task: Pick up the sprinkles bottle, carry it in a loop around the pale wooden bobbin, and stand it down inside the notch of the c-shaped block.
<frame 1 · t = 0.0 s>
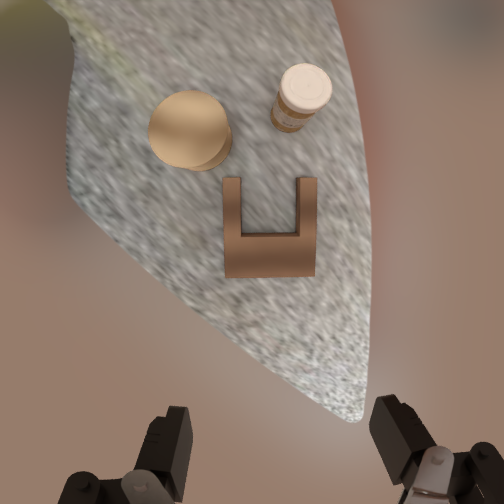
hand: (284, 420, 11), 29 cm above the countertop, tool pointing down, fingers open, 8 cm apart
c-shaped block: (268, 224, 39), on the countertop
sprinkles bottle: (287, 116, 36), on the countertop
bobbin: (200, 140, 36), on the countertop
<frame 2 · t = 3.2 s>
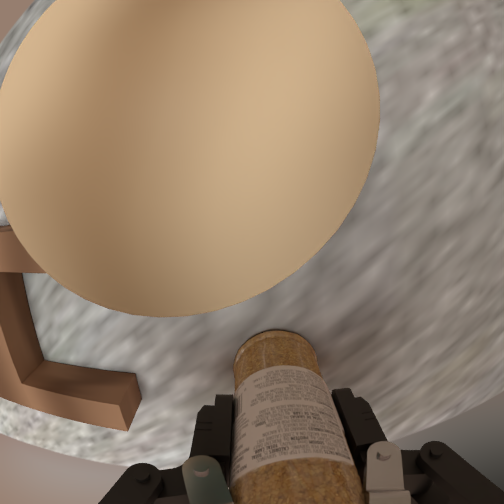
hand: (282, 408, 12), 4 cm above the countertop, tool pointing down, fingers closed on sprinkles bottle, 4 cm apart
c-shaped block: (41, 313, 15), on the countertop
sprinkles bottle: (274, 360, 16), on the countertop, touching gripper
bobbin: (209, 147, 13), on the countertop
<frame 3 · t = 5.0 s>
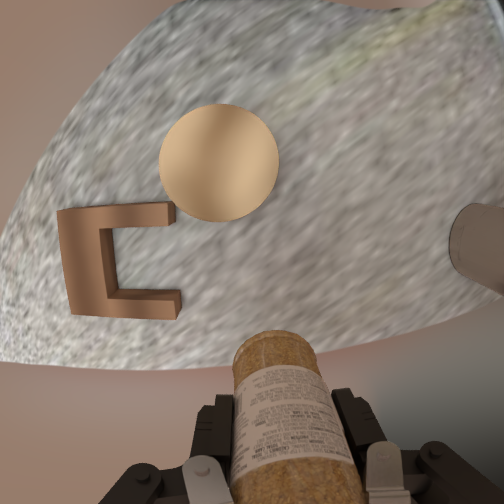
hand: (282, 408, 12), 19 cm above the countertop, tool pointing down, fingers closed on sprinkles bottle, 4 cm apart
c-shaped block: (122, 257, 30), on the countertop
sprinkles bottle: (273, 360, 16), point 15 cm above the countertop, touching gripper
bobbin: (225, 168, 28), on the countertop
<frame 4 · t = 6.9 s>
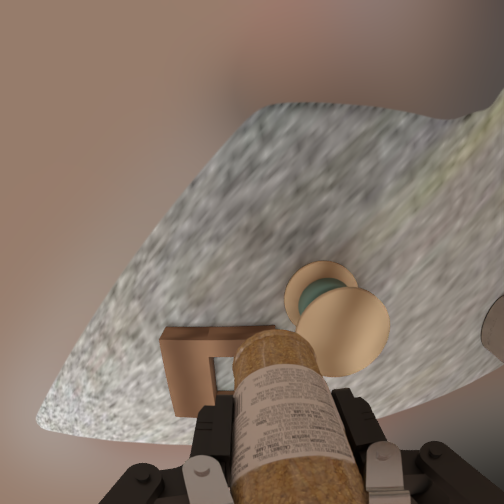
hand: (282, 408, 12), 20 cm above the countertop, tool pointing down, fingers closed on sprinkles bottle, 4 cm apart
c-shaped block: (222, 368, 34), on the countertop
sprinkles bottle: (273, 359, 16), point 16 cm above the countertop, touching gripper
bobbin: (321, 297, 32), on the countertop
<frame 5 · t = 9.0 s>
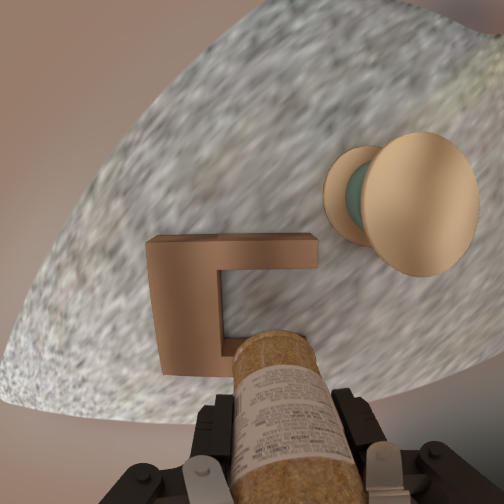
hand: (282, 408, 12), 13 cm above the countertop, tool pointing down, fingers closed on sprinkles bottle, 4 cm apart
c-shaped block: (234, 300, 25), on the countertop
sprinkles bottle: (273, 360, 16), point 9 cm above the countertop, touching gripper
bobbin: (369, 196, 23), on the countertop
when the fingers open (5 cm above the countertop, at t = 10.8 s): sprinkles bottle drops 1 cm, on the countertop.
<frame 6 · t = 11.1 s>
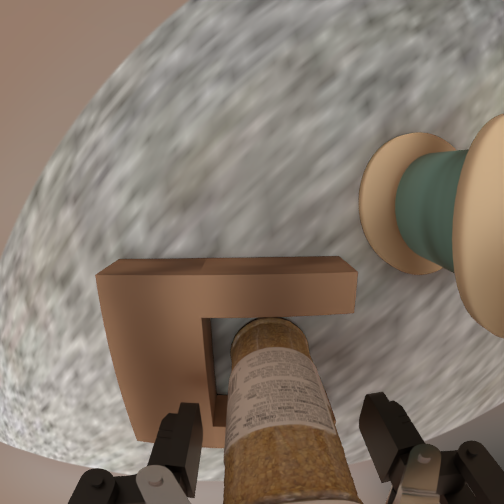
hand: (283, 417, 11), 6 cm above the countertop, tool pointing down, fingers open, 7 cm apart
c-shaped block: (229, 349, 17), on the countertop
sprinkles bottle: (268, 346, 17), on the countertop
bobbin: (420, 203, 15), on the countertop
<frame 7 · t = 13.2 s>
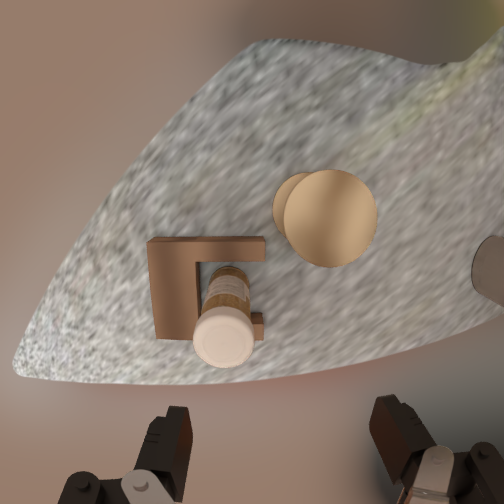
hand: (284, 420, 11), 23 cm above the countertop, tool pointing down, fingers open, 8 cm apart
c-shaped block: (208, 284, 34), on the countertop
sprinkles bottle: (229, 283, 35), on the countertop
bobbin: (309, 209, 33), on the countertop
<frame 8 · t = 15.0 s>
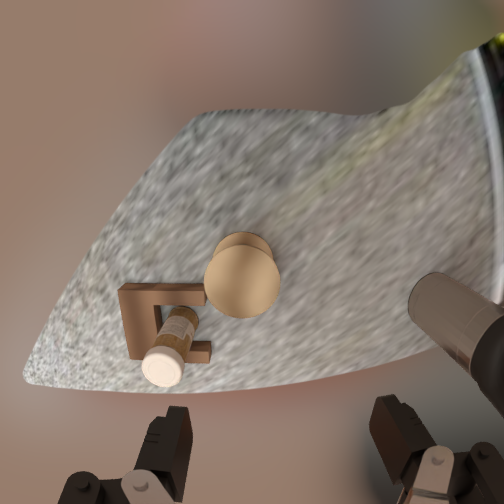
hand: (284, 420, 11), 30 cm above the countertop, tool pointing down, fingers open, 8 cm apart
c-shaped block: (168, 319, 42), on the countertop
sprinkles bottle: (183, 318, 43), on the countertop
bobbin: (242, 261, 41), on the countertop
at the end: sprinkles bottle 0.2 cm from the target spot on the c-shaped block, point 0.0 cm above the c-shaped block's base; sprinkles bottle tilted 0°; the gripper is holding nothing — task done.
